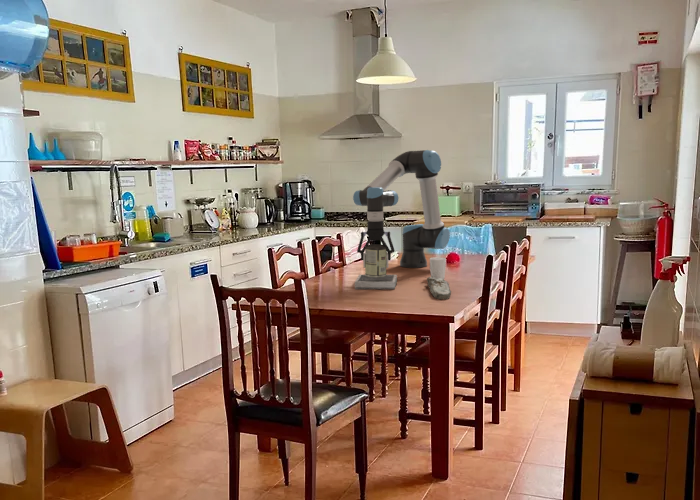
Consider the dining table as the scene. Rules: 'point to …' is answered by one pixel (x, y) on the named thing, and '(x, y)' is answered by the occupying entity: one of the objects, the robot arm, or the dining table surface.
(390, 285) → the square holder
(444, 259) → the white cup
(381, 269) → the coffee can
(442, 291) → the elongated rock
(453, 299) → the dining table surface
